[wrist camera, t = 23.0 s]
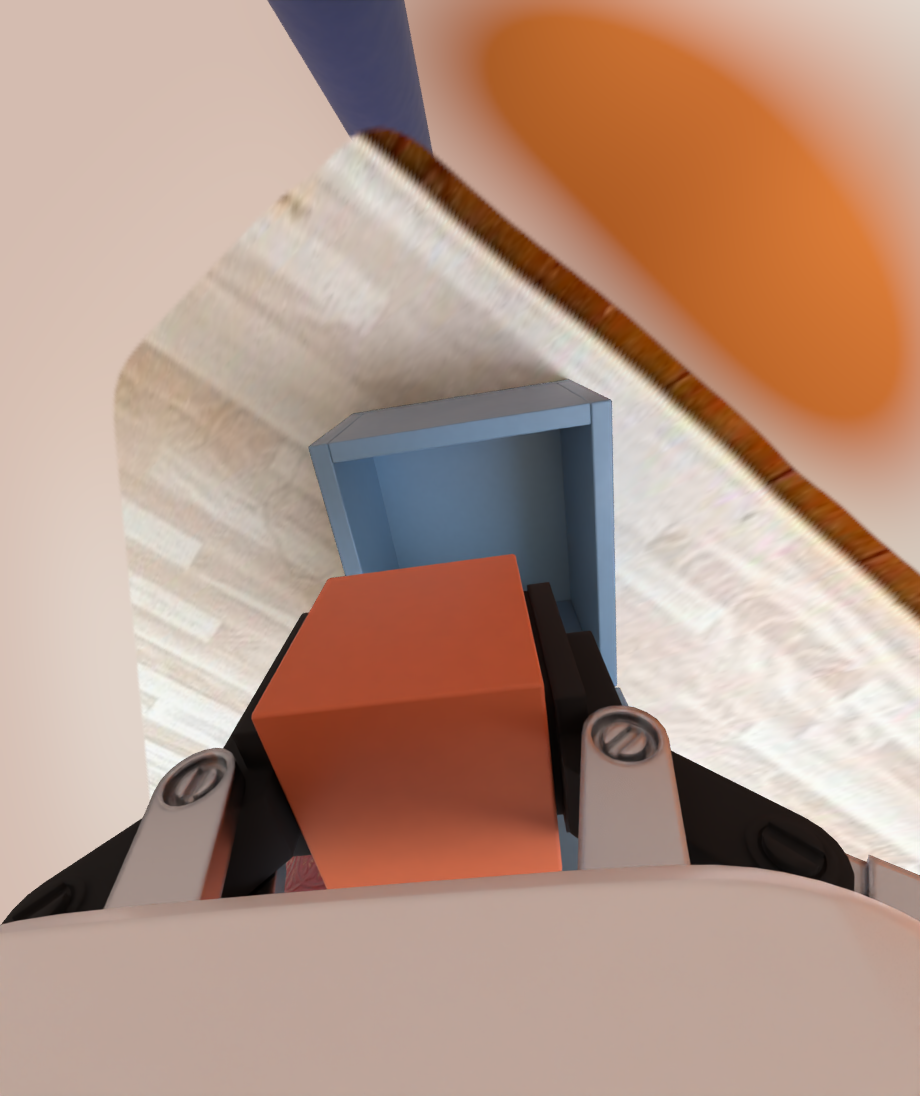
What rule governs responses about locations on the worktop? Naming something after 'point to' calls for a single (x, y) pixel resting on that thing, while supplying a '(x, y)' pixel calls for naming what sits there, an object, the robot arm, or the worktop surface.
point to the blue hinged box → (484, 492)
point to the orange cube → (416, 728)
